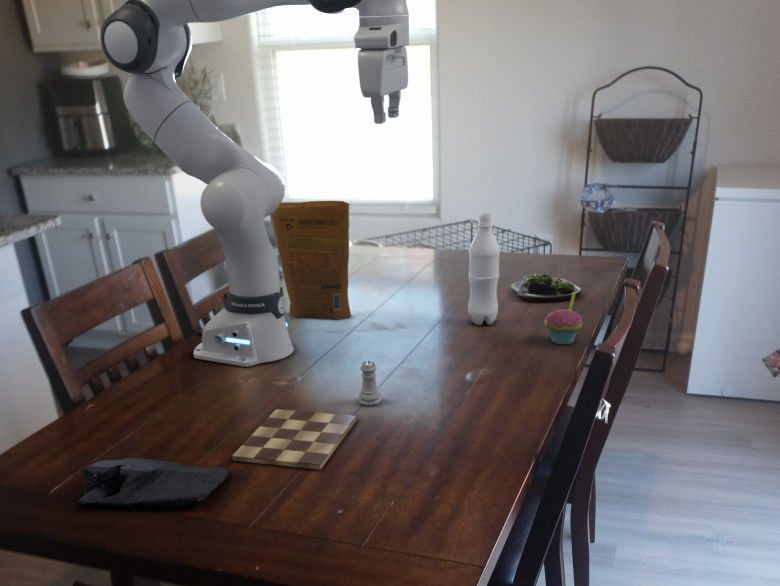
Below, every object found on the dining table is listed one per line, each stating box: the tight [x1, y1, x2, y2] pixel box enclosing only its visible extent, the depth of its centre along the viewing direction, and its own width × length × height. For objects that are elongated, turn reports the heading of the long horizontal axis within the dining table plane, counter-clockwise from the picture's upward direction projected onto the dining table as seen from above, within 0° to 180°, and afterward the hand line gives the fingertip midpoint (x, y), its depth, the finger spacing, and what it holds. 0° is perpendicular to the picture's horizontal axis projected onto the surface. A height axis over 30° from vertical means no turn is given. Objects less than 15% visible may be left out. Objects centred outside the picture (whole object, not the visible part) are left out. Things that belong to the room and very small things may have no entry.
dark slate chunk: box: [78, 457, 230, 508], centre depth 135 cm, size 15×22×5 cm
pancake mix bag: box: [269, 200, 352, 320], centre depth 204 cm, size 7×19×28 cm, turn 75°
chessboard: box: [231, 408, 357, 471], centre depth 150 cm, size 16×20×1 cm
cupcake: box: [544, 289, 585, 345], centre depth 187 cm, size 9×8×12 cm
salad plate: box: [511, 273, 582, 304], centre depth 222 cm, size 19×18×5 cm
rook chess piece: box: [358, 360, 382, 407], centre depth 162 cm, size 4×4×8 cm
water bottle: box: [467, 212, 501, 326], centre depth 197 cm, size 7×7×25 cm
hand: (386, 120), depth 157 cm, fingers open, 8 cm apart
